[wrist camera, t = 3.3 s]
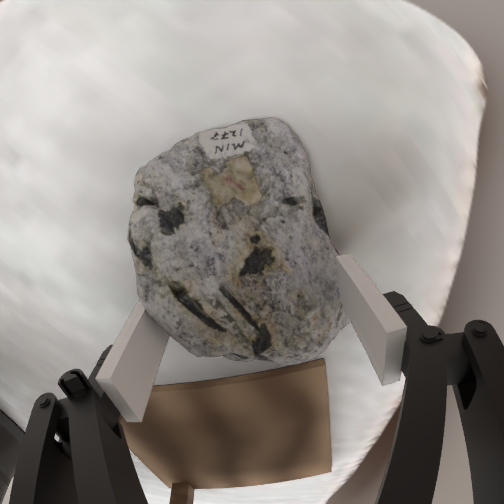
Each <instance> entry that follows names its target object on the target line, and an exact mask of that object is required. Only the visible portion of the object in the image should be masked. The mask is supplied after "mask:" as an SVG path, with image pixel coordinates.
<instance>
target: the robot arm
mask: <svg viewBox="0 0 504 504" xmlns="http://www.w3.org/2000/svg"><path fill="white" fill-rule="evenodd" d="M336 263H337V273H338V283H339V294H340V302H341V304H342V306H343V307H344V309H345V311H346V313H347V315H348V317H349V319H350V321H351V323H352V325H353V327H354V329H355V331H356V333H357V335H358V337H359V339H360V341H361V343H362V345H363V347H364V349H365V351H366V353H367V355H368V357H369V359H370V361H371V363H372V365H373V367H374V369H375V371H376V373H377V376H378V378H379V380H380V382H381V384H382V386H384V385H387V384H391V383H393V382H396V381H399V380H400V377H401V371H402V372H403V374H404V376H405V377H406V380H405V385H404V390H403V395H402V396H403V397H402V403H401V408H400V413H399V419H398V423H397V428H396V432H395V436H394V440H393V445H392V449H391V452H390V456H389V460H388V463H387V467H386V470H385V474H384V477H383V480H382V483H381V486H380V489H379V493H378V495H377V498H376V501H375V504H432V499H433V495H434V491H435V486H436V481H437V476H438V471H439V465H440V457H441V451H442V444H443V436H444V425H445V413H446V397H447V385H452V386H453V390H454V394H455V397H456V401H457V405H458V409H459V413H460V418H461V422H462V426H463V431H464V436H465V441H466V446H467V452H468V458H469V465H470V471H471V480H472V489H473V499H474V504H504V346H503V344H502V342H501V340H500V338H499V336H498V335H497V333H496V331H495V329H494V328H493V326H492V325H491V324H490V323H488V322H486V321H483V320H473V321H471V322H469V323H467V324H466V326H465V328H464V332H462V333H454V334H445V333H444V331H443V330H442V329H440V328H438V327H436V326H430V325H429V326H428V325H427V323H426V322H425V321H424V320H423V319H422V317H421V316H420V315H419V314H418V313H417V311H416V310H415V309H413V307H412V305H411V304H410V303H409V302H408V301H407V300H406V298H405V297H404V296H403V295H401V294H399V293H397V292H395V291H393V292H389V293H386V294H382V293H381V292H380V290H379V289H378V288H377V287H376V285H375V284H374V283H373V282H372V280H371V279H370V278H369V276H368V275H367V274H366V273H365V272H364V270H363V269H362V268H361V267H360V265H359V264H358V263H357V262H356V260H355V259H354V258H353V257H352V256H351V254H350V253H348V254H344V255H340V256H336ZM169 336H170V334H169V333H168V332H167V331H166V330H165V329H163V328H162V327H161V326H160V325H159V324H158V323H156V322H155V321H154V320H153V319H152V318H151V317H150V315H149V314H148V312H147V311H146V309H145V308H144V306H143V304H142V303H141V300H140V299H139V301H138V303H137V304H136V306H135V308H134V309H133V311H132V313H131V314H130V316H129V318H128V320H127V321H126V323H125V325H124V327H123V328H122V330H121V332H120V334H119V335H118V337H117V339H116V341H115V343H114V344H113V345H110V346H109V347H108V348H107V349H106V350H105V351H104V352H103V353H102V355H101V357H100V359H99V360H98V362H97V364H96V366H95V368H94V369H93V371H92V373H91V375H90V377H89V379H87V378H86V376H85V375H84V373H83V372H82V371H81V370H80V369H73V370H70V371H68V372H66V373H65V374H63V375H62V376H61V378H60V379H59V381H58V385H59V386H60V388H61V389H62V391H63V392H64V393H65V395H66V396H67V397H68V398H64V399H60V400H58V399H57V398H56V396H55V395H54V394H53V393H45V394H43V395H41V396H40V397H39V398H38V399H37V400H36V402H35V404H34V407H33V410H32V413H31V416H30V419H29V422H28V425H27V428H26V432H25V434H24V433H23V432H22V430H21V429H20V428H19V427H18V426H17V425H16V424H15V423H13V422H12V421H11V420H10V419H9V418H8V417H7V416H6V415H5V414H4V413H2V412H1V411H0V504H2V501H3V498H4V496H5V494H6V491H7V489H8V486H9V484H10V481H11V479H12V478H13V477H14V479H13V484H12V490H11V495H10V501H9V504H148V502H147V500H146V497H145V495H144V492H143V489H142V487H141V484H140V481H139V479H138V476H137V473H136V470H135V467H134V464H133V461H132V458H131V454H130V451H129V448H128V445H127V441H126V438H125V434H124V430H123V427H122V425H121V423H120V422H119V421H118V419H119V416H120V414H121V415H122V416H123V418H124V419H125V420H126V421H127V422H142V419H143V416H144V413H145V409H146V406H147V403H148V400H149V396H150V393H151V390H152V387H153V384H154V381H155V378H156V374H157V371H158V368H159V365H160V362H161V359H162V356H163V353H164V350H165V347H166V345H167V342H168V339H169ZM55 434H56V435H57V436H58V437H59V442H57V441H56V440H55V439H54V436H55Z"/></svg>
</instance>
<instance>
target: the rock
mask: <svg viewBox="0 0 504 504" xmlns="http://www.w3.org/2000/svg"><path fill="white" fill-rule="evenodd" d="M134 186H135V192H134V196H133V202H134V204H135V205H134V210H133V212H132V215H131V217H130V223H129V230H128V238H127V239H128V242H129V244H130V246H131V251H132V256H133V261H134V266H135V271H136V281H137V292H138V295H139V298H140V300H141V303H142V304H143V306H144V308H145V309H146V311H147V312H148V314H149V315H150V317H151V318H152V319H153V320H154V321H155V322H156V323H158V324H159V325H160V326H161V327H162V328H163V329H165V330H166V331H167V332H168V333H169V334H170V336H171V337H172V338H173V339H175V340H176V341H177V342H179V343H180V344H181V345H182V346H183V347H184V348H186V349H187V350H188V351H189V352H190V353H192V354H194V355H195V356H197V357H202V356H204V357H218V356H222V355H223V356H224V357H225V358H228V359H230V360H235V361H251V360H252V359H256V360H263V361H272V362H276V363H278V364H282V365H294V364H299V363H302V362H305V361H308V360H311V359H314V358H316V357H317V356H318V355H320V354H321V353H322V352H323V351H325V350H326V349H327V347H328V345H329V344H330V342H331V340H333V339H334V338H335V337H336V335H337V333H338V332H339V330H340V329H342V328H344V327H345V326H346V325H347V324H348V323H349V317H348V315H347V313H346V311H345V309H344V307H343V306H342V304H341V302H340V294H339V283H338V273H337V263H336V256H340V255H339V253H338V252H337V250H336V249H335V248H334V247H333V246H332V245H331V243H330V239H329V234H328V229H327V224H326V219H325V215H324V212H323V208H322V206H321V203H320V201H319V199H318V197H317V196H316V193H315V188H314V184H313V180H312V177H311V175H310V165H309V161H308V155H307V154H306V152H305V151H304V150H303V149H302V144H301V142H300V140H299V139H298V137H297V136H296V135H295V134H294V133H293V131H292V130H291V129H290V128H289V127H288V126H287V125H285V124H284V123H282V122H281V121H280V120H278V119H275V118H266V119H254V120H244V121H241V122H238V123H236V124H234V125H231V126H229V127H225V128H218V129H210V130H207V131H203V132H199V133H196V134H195V135H193V136H192V137H190V138H187V139H184V140H181V141H180V142H178V143H176V144H175V145H174V146H173V147H172V149H171V150H169V151H167V152H164V153H162V154H160V155H158V156H157V157H155V158H154V159H152V160H151V161H150V162H149V163H148V164H147V165H146V166H143V167H140V169H139V170H138V172H137V174H136V176H135V180H134Z"/></svg>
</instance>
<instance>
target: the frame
mask: <svg viewBox="0 0 504 504" xmlns="http://www.w3.org/2000/svg"><path fill="white" fill-rule="evenodd" d="M118 421H119V422H120V423H121V425H122V427H123V430H124V434H125V438H126V441H127V445H128V447H129V449H130V450H131V451H132V452H133V453H134V454H135V455H136V456H137V457H138V458H139V459H140V460H141V461H142V462H143V463H144V464H145V465H146V466H147V467H148V468H149V469H150V470H151V471H152V472H153V473H154V474H155V475H156V476H157V477H158V478H159V479H160V480H161V481H162V482H163V483H164V484H165V485H167V486H168V487H169V488H172V489H171V497H170V504H193V499H194V489H211V488H231V487H244V486H254V485H263V484H270V483H277V482H284V481H290V480H295V479H301V478H306V477H311V476H315V475H320V474H324V473H328V472H332V471H331V441H330V421H329V405H328V391H327V378H326V366H325V362H324V360H323V359H319V360H315V361H311V362H307V363H302V364H298V365H293V366H289V367H284V368H279V369H274V370H269V371H264V372H258V373H253V374H247V375H241V376H235V377H228V378H222V379H215V380H207V381H199V382H191V383H181V384H171V385H160V386H153V387H152V390H151V393H150V396H149V400H148V403H147V406H146V409H145V413H144V416H143V419H142V422H127V421H126V420H125V419H124V418H123V416H122V415H121V414H120V416H119V419H118Z"/></svg>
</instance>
